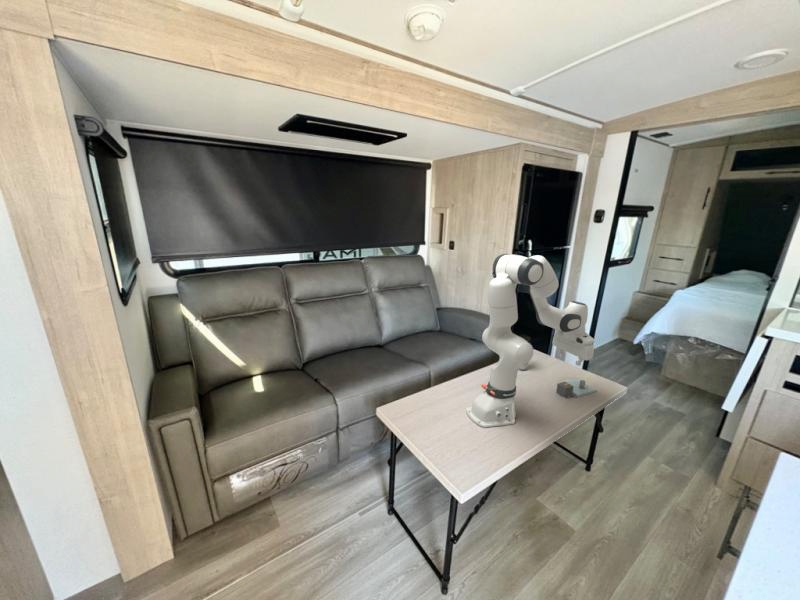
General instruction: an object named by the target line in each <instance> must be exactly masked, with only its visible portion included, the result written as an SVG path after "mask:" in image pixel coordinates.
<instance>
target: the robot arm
mask: <svg viewBox="0 0 800 600" xmlns="http://www.w3.org/2000/svg"><path fill="white" fill-rule="evenodd" d="M492 277H493V278H492V279H491V280H490V282H489V285H488V290H487V291H488V292H487V293H488V294H487V295H488V297H487V299H488V301H487V302H488V310H489V324H488V326H487V327H486V328H485V329H484V330H483V333H482V338H481V339H482V342H483V344H484V345H485V346H486V347H487V348H488V349H489V350H491V351H493V352H494V353H496V354H497V355H498V356H499V360H498V361H496V362H495V363H493V364H492V365H491V367H490V373H489V381H488V383H487V384H485V383H482V384H481V385H480V386H481V389H482V388H483V391H482V392H481V393H480V394H479V395H477V396H476V397H475V398H474V399H473V401H472V404H471V406H468V407H467V408H466V409H465V410H466V411H465V413H466V415H467V416H468V418H469V419H470V420H471V421H472V422H473V423H475V424H476V425H478V426H479V427H481V428H484V429H485V428H491V427H499V426H500V427H501V426H507V425H508V426H509V425H514V424H515V423H516V417H517V411H516V408H515V406H516V405H515V403H516V402H515V397H516V392H517V385H516V384H517V377H518V372H519V371H520V370H519V368H520V366H522V365H524V364H526V363H528V364H529V362H530V361H531V360H532V359H533V356H534V347H533V345H532V344H531V343H530V344H529V343H528V342H527V341H526V340H525V339H523V338H521V337H520V335H517V334H515V333H514V332H512V329H511V328H512V326H513V325H515V324H516V323H517V321H518V320H519V313H518V301H517V300H518V299H517V293H516V289H517V286H518V284H519V285H524V286H529V294H530V299H531V301H532V304H533V307H534V311H535V315H536V316H535V317H536V320H537V322H538V324H540V325H542V326H547V327H550V328H552V329H554V330H555V331H554V335H553V338H552V346H554V347H556V348H557V351H558V353H559V358H565V353H564V351H565V352H567V353H569V354H572V355H573V356H576V357H578V360H576V361H575V365H576V366H577V367H579V366H581V365H582V363H583V361H591V360H592V359H594V353H595V347H594V343H595V339H594V338H593V337H592V336H591V335H590V334H589V333H587V332H586V324H587V322H588V318H589V317H588V316H589V308H588V305H587V304H586V303H583V302H579V301H576V300H571V301H569V303H568V305H567V307H564V308H563V309H561V308H558V307H556V306H553V305H551V304H550V303H548V300H547V298H548V297H550V296H552V295H553V294H554V293H556V292H557V290H558V288H559V285H560V284H559V280H558V277H557V275H556V273H555V270H554V269H553V267H552V266H551V264H550V262H549V261H548V260H547V258H545V257H544V256H543V255H539V254H537V255H532V256H530V257H528V256H527V257H526V256H523V255H520V254H511V253H503V254H499V255H498V256H497V257H495V259H494V261H493V264H492Z"/></svg>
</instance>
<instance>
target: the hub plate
mask: <svg viewBox="0 0 800 600" xmlns="http://www.w3.org/2000/svg"><path fill="white" fill-rule="evenodd" d="M564 382H567V383H569V384H570V385H572V386H574V387H573V393H572V396H575V397H577V398H579V397H581V396H585V395H588V394H592V393H595V392H598V389H597V388H595V387H592V385H589V384H588V383H586V380H584V379H578V378H574V379H570V380H566V381H564ZM558 383H559V382H558ZM558 383H557V384H556V385H557V386H558Z"/></svg>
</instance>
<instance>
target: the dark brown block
mask: <svg viewBox="0 0 800 600" xmlns="http://www.w3.org/2000/svg"><path fill="white" fill-rule="evenodd" d="M556 387H557V388H556V394H558V395H559V396H561V397H562V398H564V399H566V398H570V397H573V394H572V393H573V387H574V386H572V385H570V384H569V383H567V382H565V381H561V382H558V385H557V386H556Z"/></svg>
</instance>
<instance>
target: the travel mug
mask: <svg viewBox="0 0 800 600" xmlns="http://www.w3.org/2000/svg"><path fill="white" fill-rule="evenodd" d="M519 337H521V338H523V339H525V340H526V341H527V342H528V343H529V344H530V345H531V343H532V342H531V340H532V338H531V336H529V335H527V334H521V335H519ZM528 366H529V362H528V363H526V364H524V365H522V366H520V368H519V370H518V371H520V372H521V371H523V372H524V371H528Z"/></svg>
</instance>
